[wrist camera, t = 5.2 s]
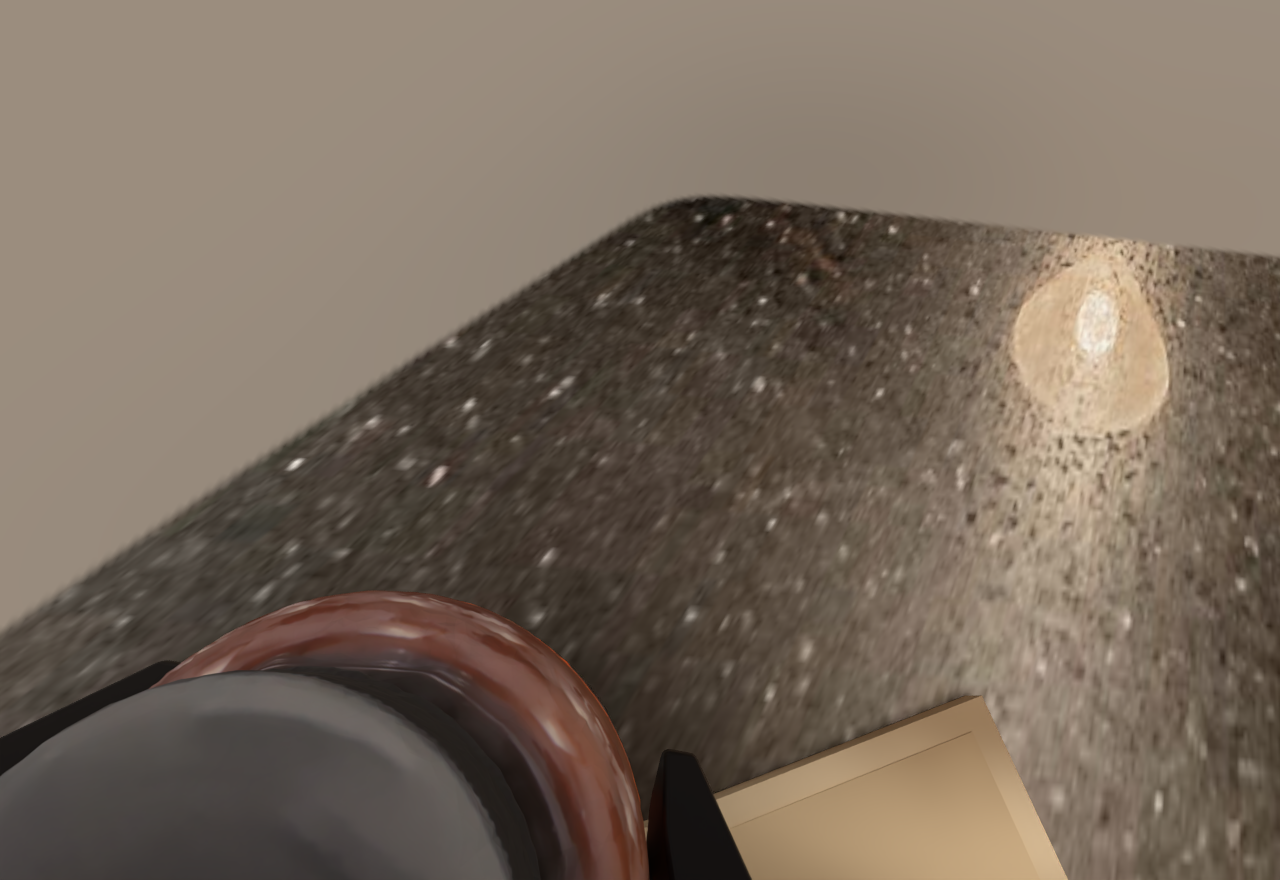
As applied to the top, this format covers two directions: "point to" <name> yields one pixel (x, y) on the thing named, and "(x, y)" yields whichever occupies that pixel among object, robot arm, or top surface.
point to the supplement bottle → (338, 760)
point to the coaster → (896, 808)
